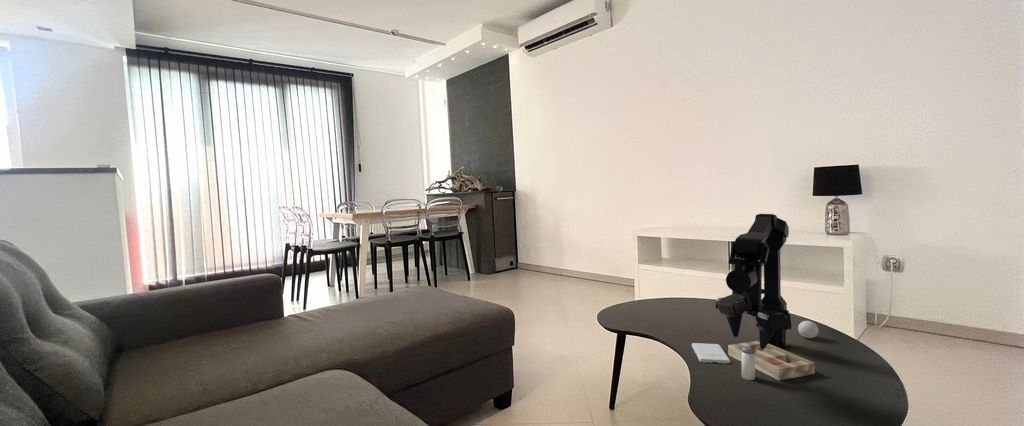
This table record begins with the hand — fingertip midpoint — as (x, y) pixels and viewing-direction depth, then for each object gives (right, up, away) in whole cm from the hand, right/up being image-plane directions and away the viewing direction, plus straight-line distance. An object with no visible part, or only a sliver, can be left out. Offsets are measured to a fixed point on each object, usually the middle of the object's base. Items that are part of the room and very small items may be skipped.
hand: (748, 342), depth 117 cm
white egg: (+35, -7, +29) cm, 46 cm away
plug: (0, -10, +1) cm, 10 cm away
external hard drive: (-3, -9, +16) cm, 19 cm away
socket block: (+10, -9, +9) cm, 16 cm away
